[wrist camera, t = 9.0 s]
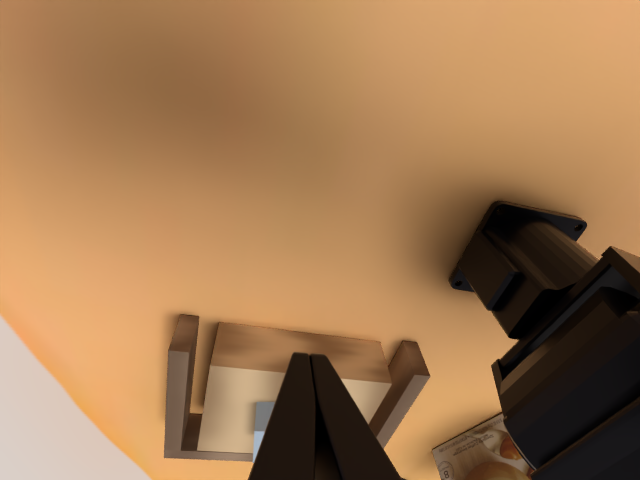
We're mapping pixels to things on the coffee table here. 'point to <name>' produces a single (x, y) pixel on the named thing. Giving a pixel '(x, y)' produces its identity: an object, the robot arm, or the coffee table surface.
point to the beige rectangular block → (277, 378)
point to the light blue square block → (261, 423)
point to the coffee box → (482, 455)
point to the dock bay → (184, 439)
